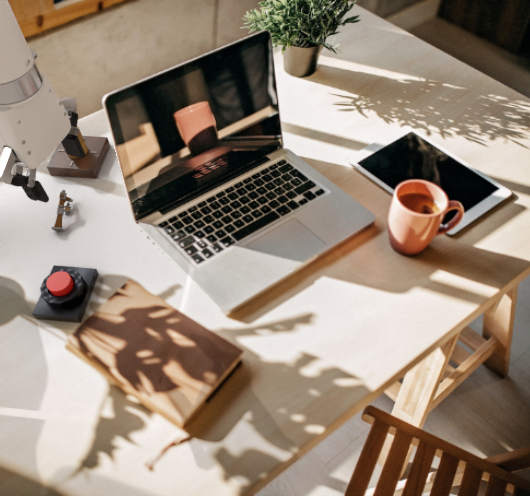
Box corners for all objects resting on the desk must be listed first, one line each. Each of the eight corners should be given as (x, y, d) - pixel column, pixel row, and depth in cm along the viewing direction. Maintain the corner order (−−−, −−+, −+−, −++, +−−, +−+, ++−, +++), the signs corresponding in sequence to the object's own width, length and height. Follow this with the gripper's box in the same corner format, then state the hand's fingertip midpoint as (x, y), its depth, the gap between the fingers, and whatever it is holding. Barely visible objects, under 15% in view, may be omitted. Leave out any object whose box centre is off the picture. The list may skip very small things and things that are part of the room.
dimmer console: (50, 175, 104) (46, 166, 102) (67, 143, 110) (63, 133, 108) (96, 178, 103) (92, 169, 101) (110, 145, 109) (107, 136, 107)
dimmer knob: (63, 158, 103) (53, 136, 99) (71, 143, 106) (61, 122, 101) (84, 159, 103) (74, 138, 98) (90, 145, 106) (81, 123, 101)
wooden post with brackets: (76, 195, 99) (66, 188, 95) (70, 234, 98) (59, 229, 93) (68, 195, 99) (57, 188, 95) (61, 234, 98) (50, 228, 93)
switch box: (35, 319, 84) (27, 309, 81) (57, 270, 90) (49, 259, 87) (81, 323, 83) (73, 313, 81) (99, 273, 89) (93, 262, 86)
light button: (46, 295, 83) (42, 290, 82) (55, 275, 85) (51, 270, 84) (69, 297, 83) (65, 292, 81) (77, 277, 85) (73, 272, 84)
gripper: (26, 37, 67) (69, 134, 81) (-65, 116, 57) (2, 211, 71) (73, 47, 65) (109, 145, 79) (-12, 130, 56) (46, 224, 70)
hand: (58, 176), depth 75 cm, fingers open, 9 cm apart
